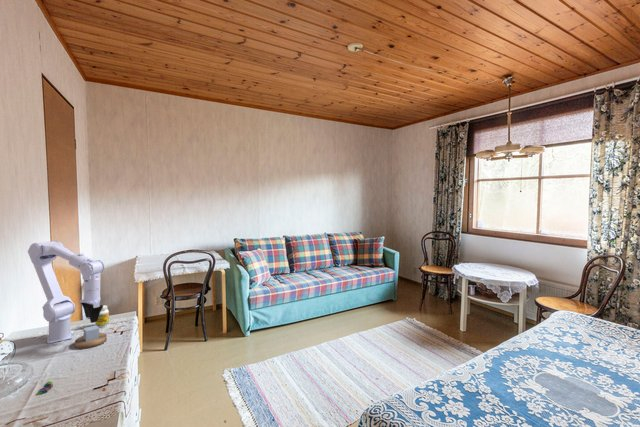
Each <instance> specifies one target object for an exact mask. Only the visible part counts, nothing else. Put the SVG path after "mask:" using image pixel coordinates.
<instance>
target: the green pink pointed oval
mask: <svg viewBox="0 0 640 427" xmlns="http://www.w3.org/2000/svg"><path fill="white" fill-rule="evenodd" d="M53 386H54V384H53V382H52V381H47V382H46V383H45V384H44V385H43V387H41V389H40V390H39V391H38V392H37V393H36V394H35V395H34V396H36V397H37V396H42V395H44V394H47V393H48V392H49V391H50V390H51V389H52V388H53Z"/></svg>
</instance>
